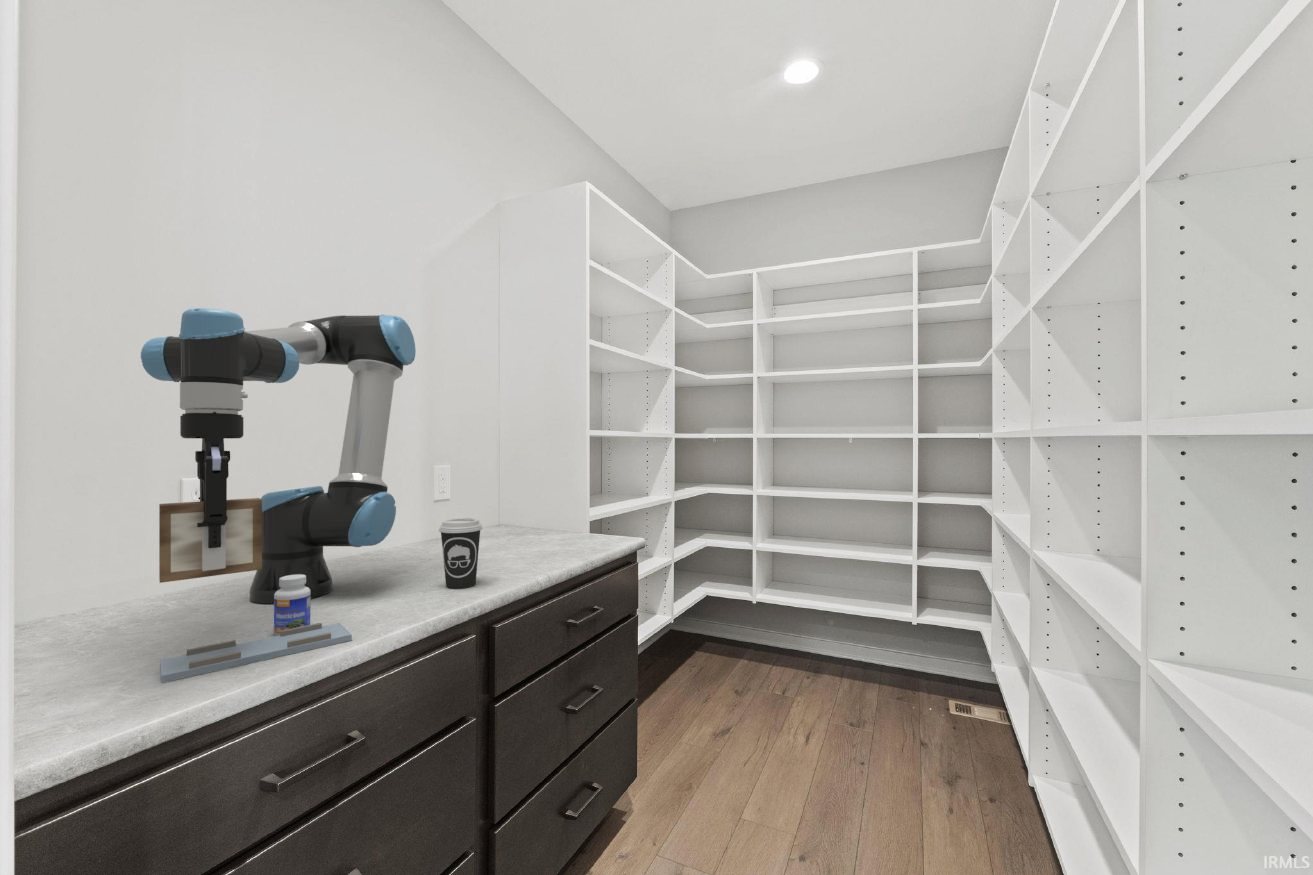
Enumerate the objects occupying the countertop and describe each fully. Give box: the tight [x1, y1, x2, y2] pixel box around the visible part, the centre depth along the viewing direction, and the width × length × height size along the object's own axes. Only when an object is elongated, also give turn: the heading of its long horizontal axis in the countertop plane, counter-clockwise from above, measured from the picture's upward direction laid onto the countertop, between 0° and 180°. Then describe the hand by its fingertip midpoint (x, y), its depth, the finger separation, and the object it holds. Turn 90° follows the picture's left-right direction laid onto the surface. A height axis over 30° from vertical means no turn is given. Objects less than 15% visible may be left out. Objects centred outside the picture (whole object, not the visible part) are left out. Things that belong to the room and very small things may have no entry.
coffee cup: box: [438, 517, 483, 590], centre depth 129 cm, size 10×10×15 cm
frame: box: [158, 497, 262, 584], centre depth 85 cm, size 12×3×11 cm, turn 132°
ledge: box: [159, 622, 353, 684], centre depth 89 cm, size 8×24×2 cm, turn 132°
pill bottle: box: [273, 574, 312, 636], centre depth 98 cm, size 5×5×10 cm
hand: (212, 566), depth 85 cm, fingers closed on frame, 3 cm apart
